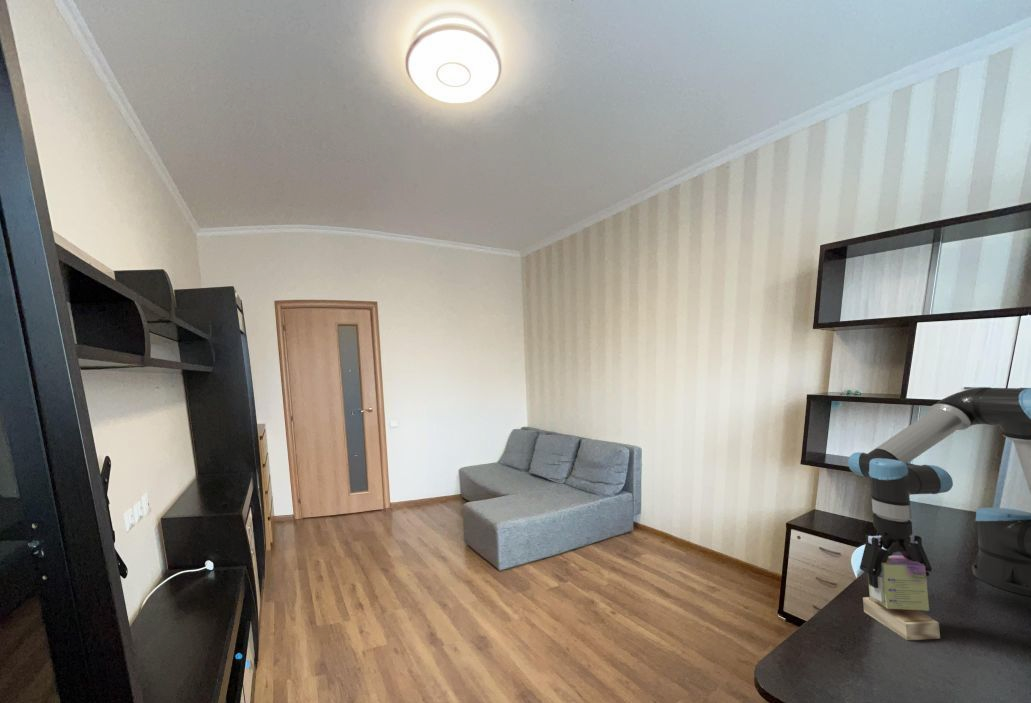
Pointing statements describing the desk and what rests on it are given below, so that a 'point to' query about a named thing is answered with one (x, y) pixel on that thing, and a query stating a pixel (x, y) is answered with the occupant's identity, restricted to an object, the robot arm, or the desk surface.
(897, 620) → the wooden tray
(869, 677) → the desk surface
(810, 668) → the desk surface
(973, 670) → the desk surface
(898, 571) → the box
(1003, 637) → the desk surface
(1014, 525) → the robot arm
